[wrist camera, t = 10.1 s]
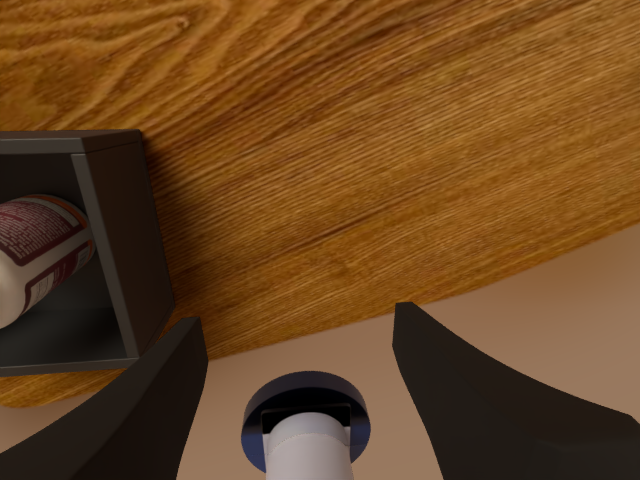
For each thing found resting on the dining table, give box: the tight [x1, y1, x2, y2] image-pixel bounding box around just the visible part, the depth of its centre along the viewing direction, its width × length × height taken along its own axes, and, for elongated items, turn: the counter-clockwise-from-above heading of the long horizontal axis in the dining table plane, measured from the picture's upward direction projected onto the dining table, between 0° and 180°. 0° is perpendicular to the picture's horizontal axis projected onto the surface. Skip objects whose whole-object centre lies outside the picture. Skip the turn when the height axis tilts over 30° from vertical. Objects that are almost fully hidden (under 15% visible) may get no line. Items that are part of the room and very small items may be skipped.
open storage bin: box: [0, 129, 175, 377], centre depth 17 cm, size 11×11×6 cm
